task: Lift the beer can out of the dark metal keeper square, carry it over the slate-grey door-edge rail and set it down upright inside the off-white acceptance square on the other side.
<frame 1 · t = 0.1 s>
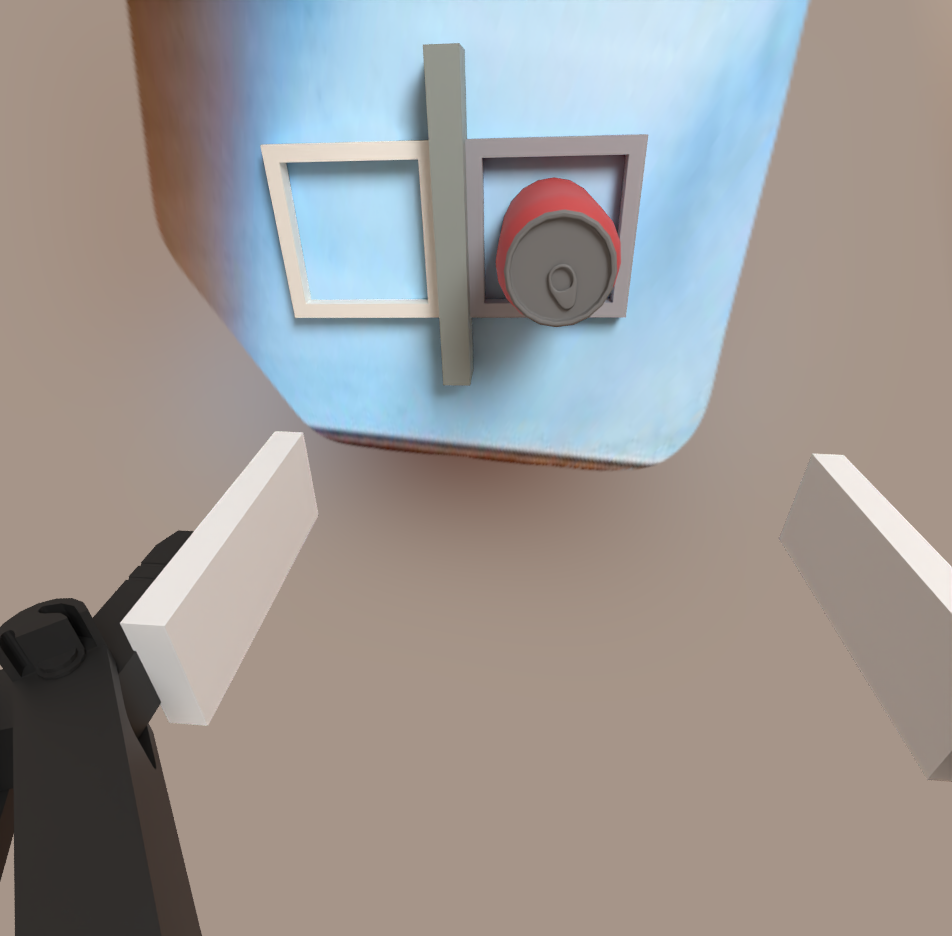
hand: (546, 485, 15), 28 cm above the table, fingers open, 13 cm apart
double frame with crossbar: (455, 232, 37), on the table
beer can: (550, 231, 37), resting in double frame with crossbar
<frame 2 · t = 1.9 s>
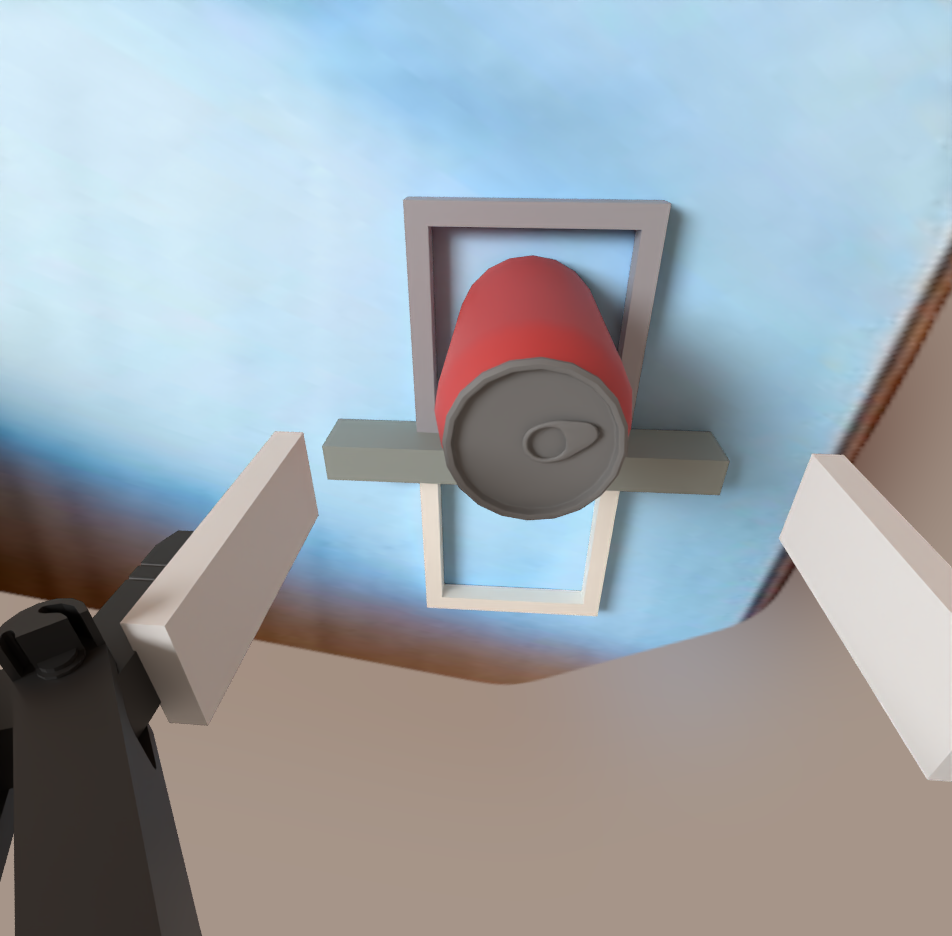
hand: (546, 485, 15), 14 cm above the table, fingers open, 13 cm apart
double frame with crossbar: (520, 441, 30), on the table
beer can: (527, 322, 27), resting in double frame with crossbar
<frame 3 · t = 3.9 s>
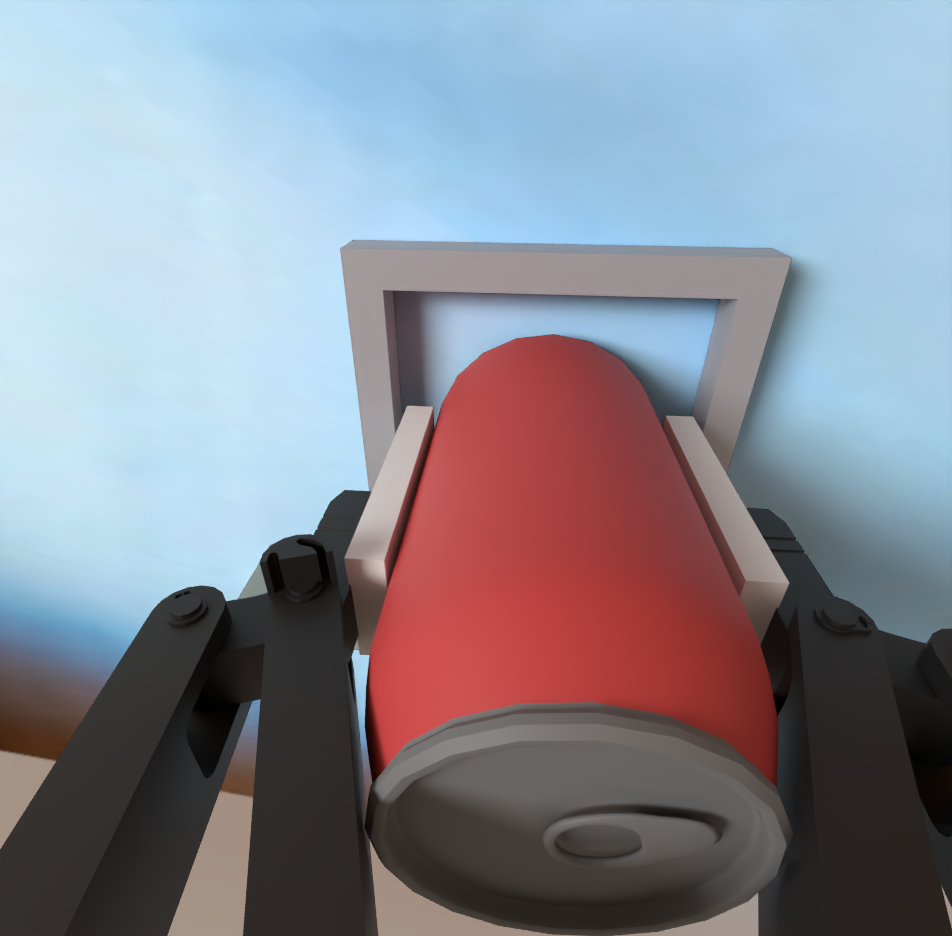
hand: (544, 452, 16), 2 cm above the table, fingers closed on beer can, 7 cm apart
double frame with crossbar: (530, 578, 21), on the table
beer can: (542, 425, 17), resting in double frame with crossbar, touching gripper
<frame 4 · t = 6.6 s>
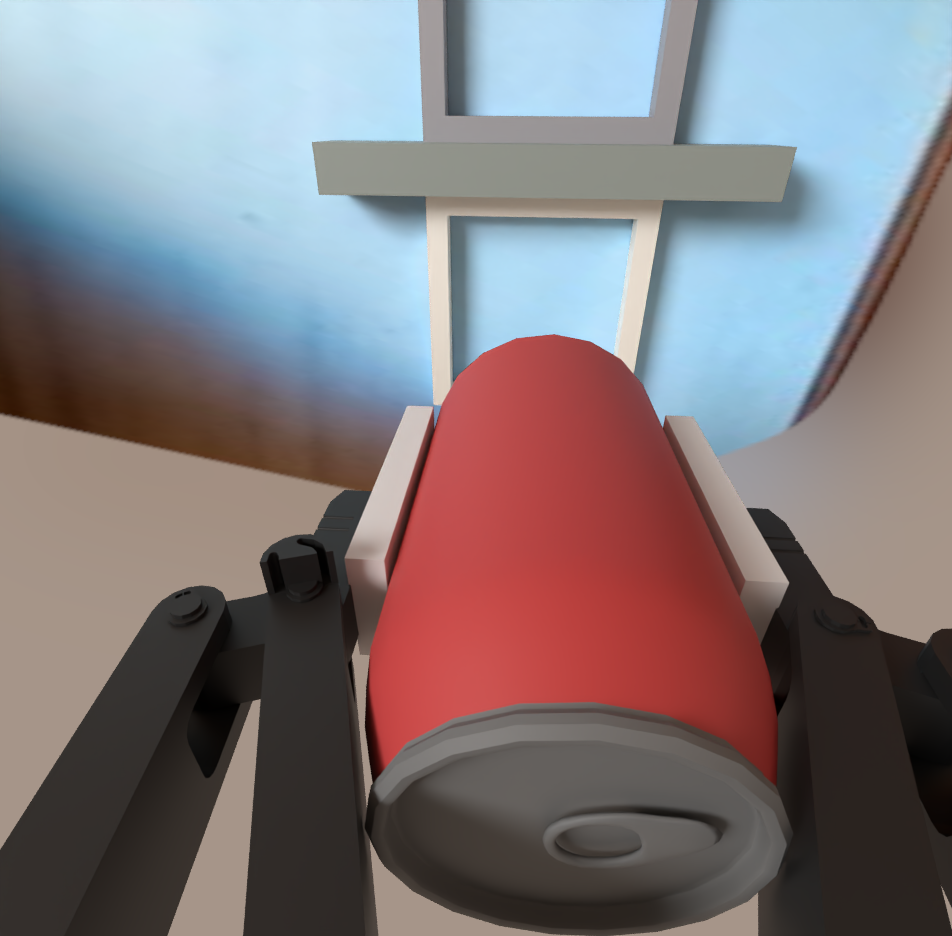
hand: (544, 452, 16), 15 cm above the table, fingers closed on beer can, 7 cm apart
double frame with crossbar: (544, 167, 26), on the table
beer can: (542, 425, 17), point 14 cm above the table, touching gripper
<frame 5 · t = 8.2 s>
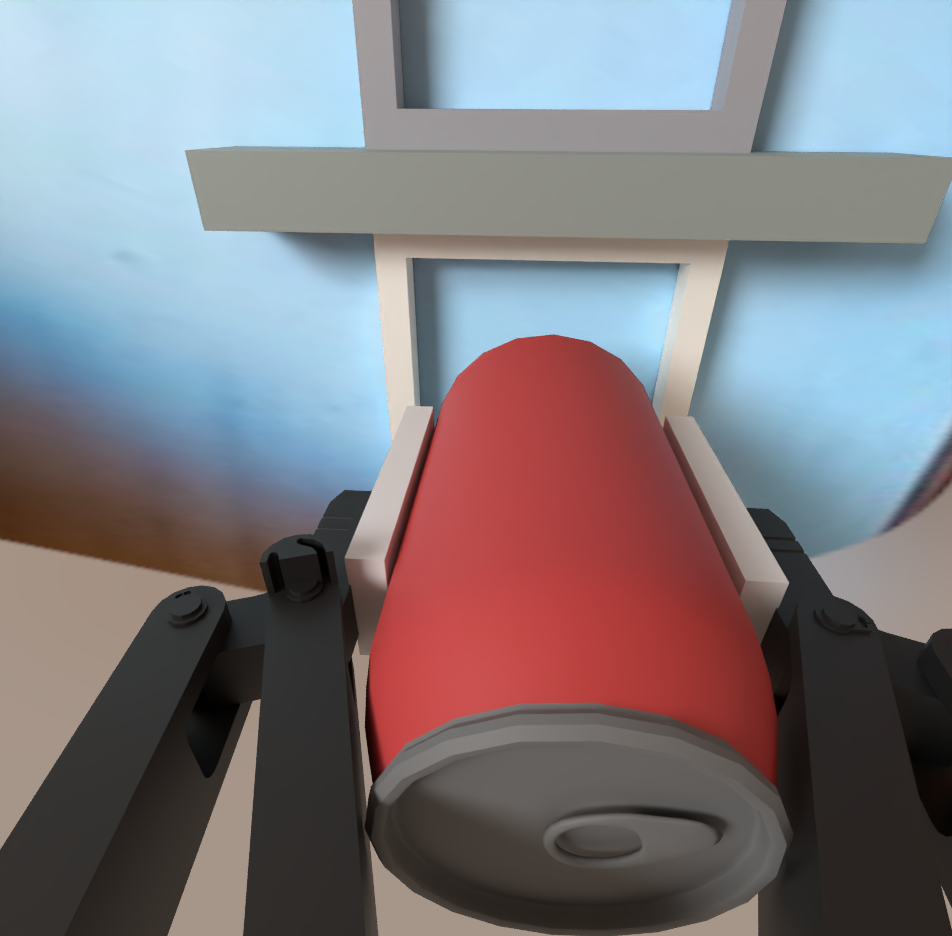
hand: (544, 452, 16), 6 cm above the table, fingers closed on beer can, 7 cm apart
double frame with crossbar: (549, 186, 17), on the table
beer can: (542, 425, 17), point 4 cm above the table, touching gripper
when the fingers open (2 cm above the table, at t = 9.6 s): beer can stays where it is, resting in double frame with crossbar.
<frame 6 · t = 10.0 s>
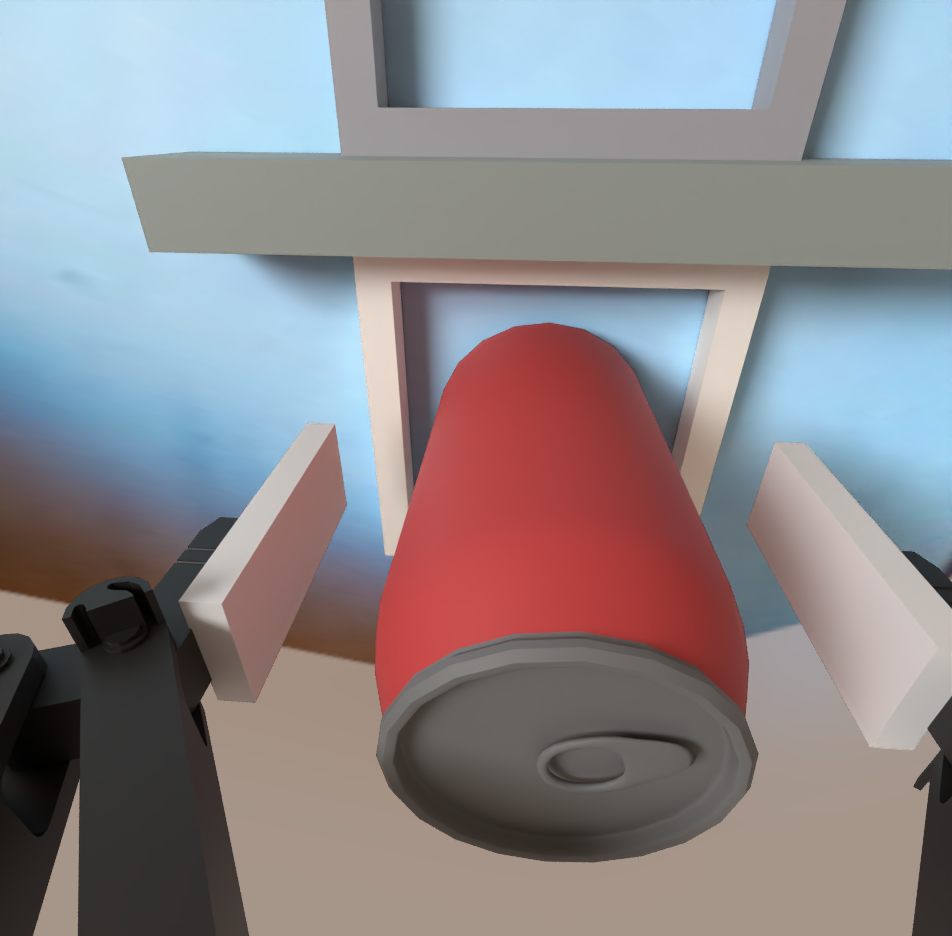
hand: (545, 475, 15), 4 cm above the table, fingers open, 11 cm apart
double frame with crossbar: (559, 198, 15), on the table
beer can: (539, 411, 18), resting in double frame with crossbar
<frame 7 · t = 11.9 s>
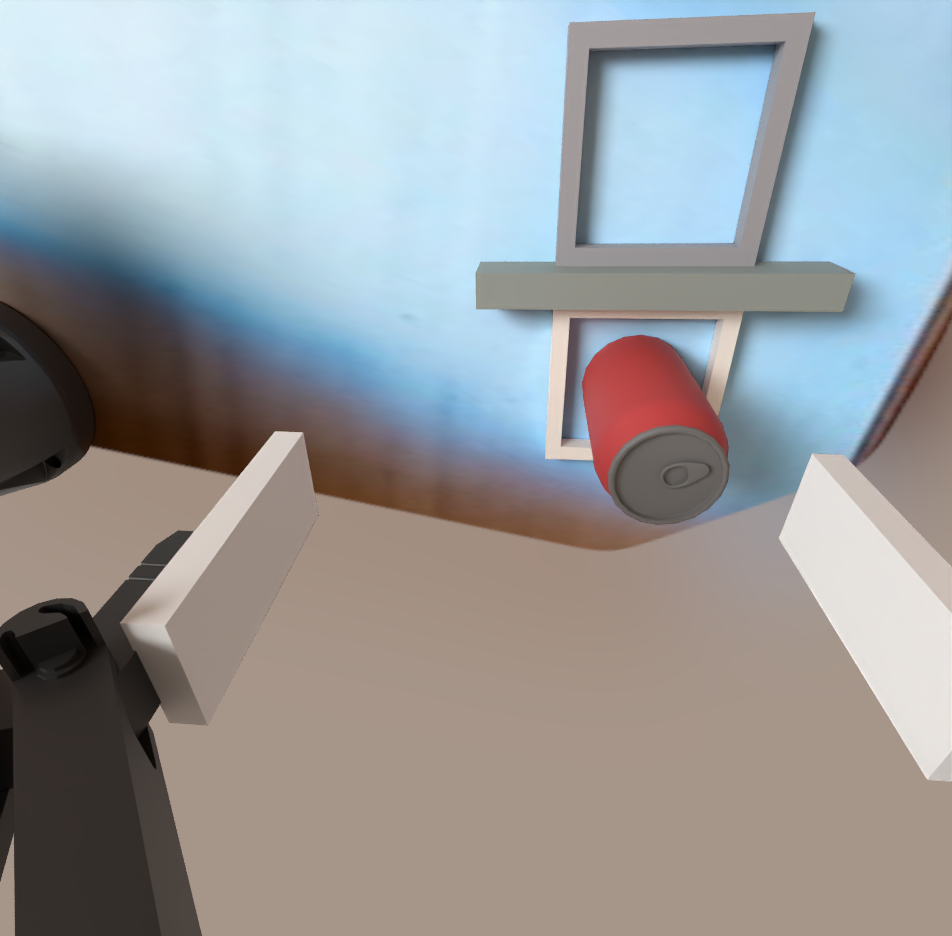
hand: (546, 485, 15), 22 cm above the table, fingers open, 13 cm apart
double frame with crossbar: (647, 279, 32), on the table
beer can: (631, 379, 36), resting in double frame with crossbar
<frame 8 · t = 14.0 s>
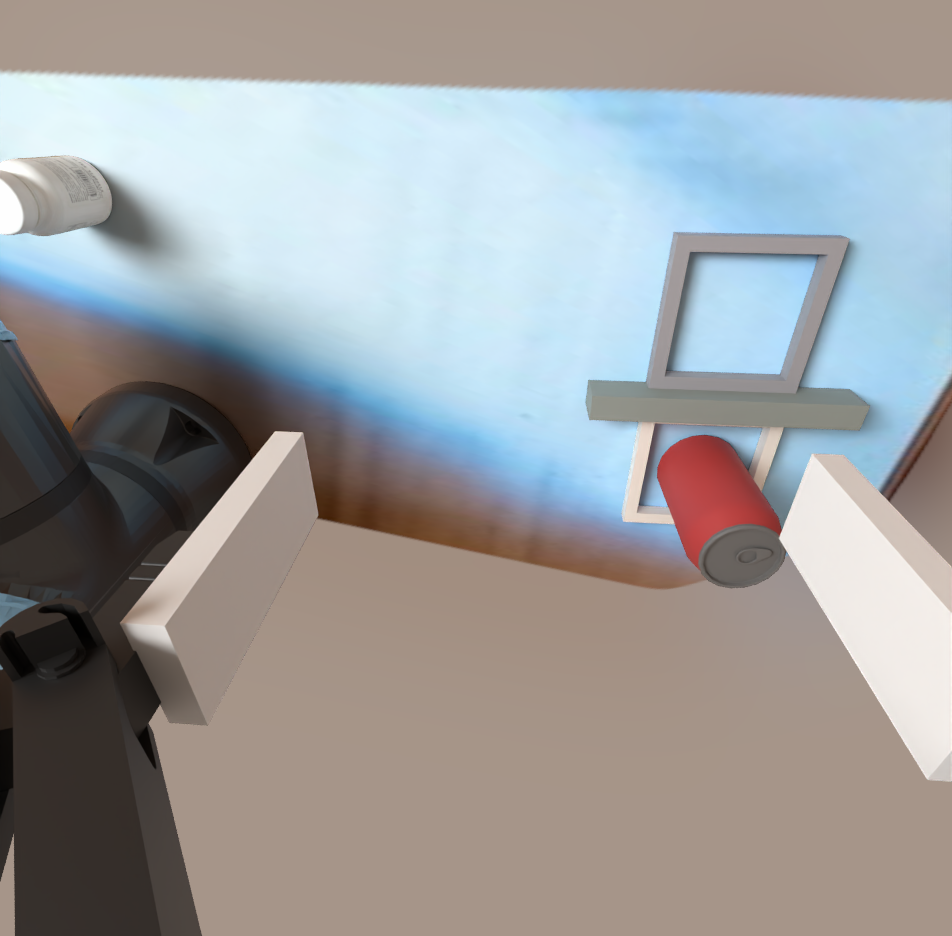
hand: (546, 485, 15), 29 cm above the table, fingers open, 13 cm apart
pill bottle: (84, 190, 39), on the table
double frame with crossbar: (713, 396, 43), on the table
beer can: (694, 463, 47), resting in double frame with crossbar
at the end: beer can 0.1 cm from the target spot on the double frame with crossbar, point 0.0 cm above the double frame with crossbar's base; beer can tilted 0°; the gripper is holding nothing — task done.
